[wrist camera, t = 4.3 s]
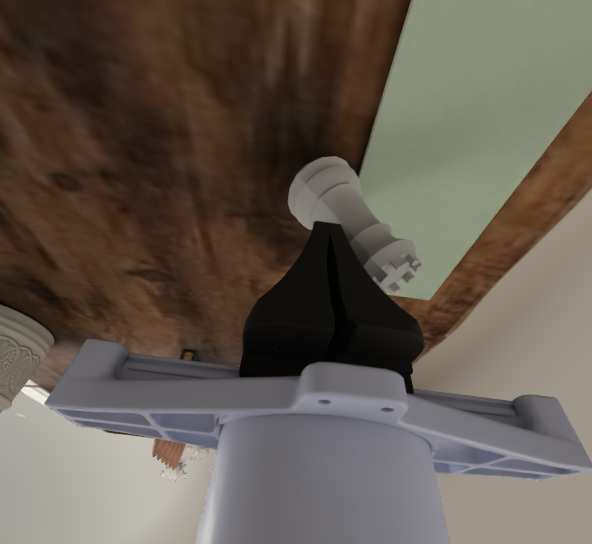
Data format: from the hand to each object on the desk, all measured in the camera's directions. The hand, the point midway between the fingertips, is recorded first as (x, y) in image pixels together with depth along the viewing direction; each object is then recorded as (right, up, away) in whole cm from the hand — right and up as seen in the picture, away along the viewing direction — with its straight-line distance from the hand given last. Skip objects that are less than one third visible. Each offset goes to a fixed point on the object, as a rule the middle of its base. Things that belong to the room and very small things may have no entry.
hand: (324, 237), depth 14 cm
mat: (+7, +3, +4) cm, 9 cm away
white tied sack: (-28, -41, +56) cm, 75 cm away
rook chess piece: (0, +4, +3) cm, 5 cm away
